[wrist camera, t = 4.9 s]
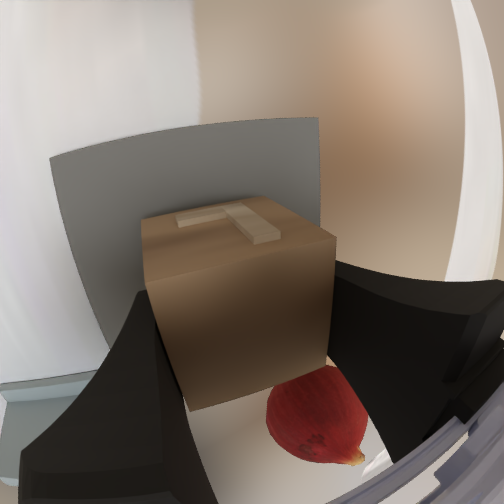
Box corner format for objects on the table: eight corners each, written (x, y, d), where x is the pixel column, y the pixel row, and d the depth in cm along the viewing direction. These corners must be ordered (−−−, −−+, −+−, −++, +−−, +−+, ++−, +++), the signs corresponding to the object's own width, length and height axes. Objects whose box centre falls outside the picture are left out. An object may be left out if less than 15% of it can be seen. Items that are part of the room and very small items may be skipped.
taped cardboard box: (269, 298, 13) (325, 365, 9) (167, 325, 12) (190, 411, 8) (263, 190, 11) (336, 229, 7) (139, 214, 10) (142, 274, 6)
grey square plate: (312, 318, 17) (316, 322, 16) (124, 371, 14) (124, 377, 13) (313, 117, 12) (318, 117, 12) (52, 157, 9) (49, 158, 8)
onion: (268, 410, 19) (320, 497, 13) (231, 375, 16) (289, 490, 10) (335, 366, 20) (401, 443, 13) (313, 321, 17) (401, 417, 10)
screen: (147, 398, 15) (165, 487, 10) (25, 414, 12) (18, 492, 7) (129, 363, 14) (142, 464, 8) (0, 384, 11) (-17, 466, 6)
